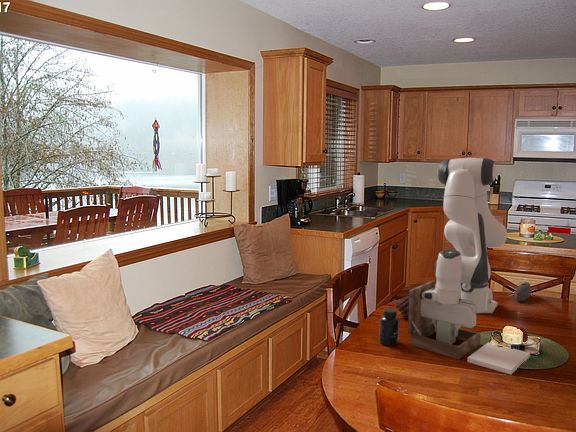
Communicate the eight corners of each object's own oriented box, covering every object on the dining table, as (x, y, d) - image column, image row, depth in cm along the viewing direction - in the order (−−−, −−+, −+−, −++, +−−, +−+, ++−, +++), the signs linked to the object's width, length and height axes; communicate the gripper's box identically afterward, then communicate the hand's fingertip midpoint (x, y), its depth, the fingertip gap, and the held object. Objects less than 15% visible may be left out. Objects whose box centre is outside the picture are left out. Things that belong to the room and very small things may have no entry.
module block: (442, 338, 189) (443, 315, 188) (455, 341, 186) (456, 319, 184) (435, 341, 185) (437, 319, 184) (449, 345, 182) (450, 322, 181)
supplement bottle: (398, 346, 183) (399, 314, 181) (378, 345, 184) (379, 312, 183) (398, 339, 190) (399, 308, 188) (379, 338, 191) (380, 306, 189)
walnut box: (430, 330, 199) (433, 280, 196) (479, 343, 186) (483, 290, 183) (407, 344, 185) (409, 290, 183) (458, 359, 173) (461, 301, 170)
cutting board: (488, 346, 184) (488, 342, 184) (529, 357, 175) (530, 352, 174) (467, 361, 171) (467, 357, 170) (510, 374, 161) (511, 370, 161)
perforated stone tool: (522, 304, 232) (523, 289, 231) (510, 302, 235) (511, 287, 234) (532, 297, 243) (533, 282, 242) (520, 295, 246) (521, 280, 246)
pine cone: (438, 320, 211) (439, 296, 209) (428, 326, 203) (429, 302, 202) (398, 311, 222) (399, 288, 220) (387, 317, 214) (388, 293, 212)
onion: (513, 342, 188) (515, 320, 187) (529, 346, 184) (531, 325, 183) (506, 346, 184) (508, 324, 183) (523, 351, 180) (525, 329, 179)
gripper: (480, 300, 178) (478, 338, 180) (425, 288, 192) (424, 324, 194) (473, 304, 174) (470, 343, 176) (417, 292, 187) (416, 328, 189)
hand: (446, 333), depth 185 cm, fingers closed on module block, 5 cm apart
